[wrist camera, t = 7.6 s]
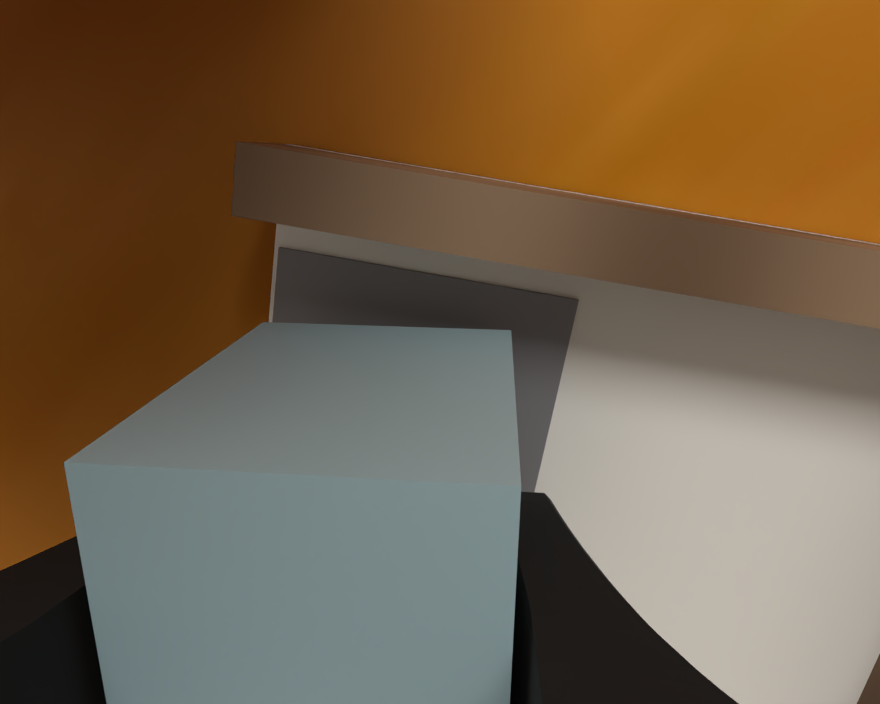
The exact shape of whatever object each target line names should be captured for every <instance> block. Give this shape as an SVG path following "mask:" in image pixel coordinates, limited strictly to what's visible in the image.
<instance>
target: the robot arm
mask: <svg viewBox="0 0 880 704" xmlns="http://www.w3.org/2000/svg"><path fill="white" fill-rule="evenodd" d="M0 704H107V703H106V697H105V692H104V686H103V680H102V675H101V669H100V664H99V658H98V652H97V647H96V641H95V636H94V630H93V624H92V619H91V613H90V607H89V602H88V596H87V591H86V585H85V579H84V574H83V568H82V562H81V557H80V551H79V546H78V540H77V536H76V537H73V538H71V539H69V540H67V541H65V542H63V543H60V544H58V545H56V546H54V547H52V548H49V549H47V550H45V551H43V552H41V553H39V554H36V555H34V556H32V557H30V558H28V559H26V560H23V561H21V562H19V563H17V564H15V565H13V566H10V567H8V568H6V569H3V570H1V571H0ZM510 704H739V703H737V702H736V701H735V700H733V699H732V698H731V697H730V696H728V695H727V694H726V693H724V692H723V691H722V690H721V689H719V688H718V687H717V686H716V685H715V684H713V683H712V682H711V681H710V680H709V679H708V678H706V677H705V676H704V675H703V674H702V673H700V672H699V671H698V670H697V669H696V668H695V667H693V666H692V665H691V664H690V663H689V662H688V661H687V660H686V659H685V658H684V657H683V656H681V655H680V654H679V653H678V652H677V651H676V650H675V649H674V648H673V647H672V646H671V645H669V644H668V643H667V642H666V641H665V640H664V639H663V638H662V637H661V636H660V635H659V634H657V633H656V632H655V631H654V630H653V629H652V628H651V627H650V626H649V625H648V623H647V622H646V621H645V620H644V619H643V618H642V617H641V616H640V615H639V614H638V613H637V612H636V611H635V609H634V608H633V607H632V606H631V605H630V604H629V603H628V602H627V601H626V600H625V598H624V597H623V596H622V595H621V594H620V593H619V592H618V590H617V589H616V588H615V587H614V586H613V585H612V583H611V582H610V581H609V580H608V579H607V577H606V576H605V575H604V574H603V572H602V571H601V570H600V569H599V567H598V566H597V565H596V564H595V562H594V561H593V560H592V558H591V557H590V556H589V555H588V553H587V552H586V551H585V549H584V548H583V547H582V545H581V544H580V543H579V541H578V540H577V539H576V537H575V536H574V534H573V533H572V531H571V530H570V529H569V527H568V526H567V524H566V523H565V521H564V520H563V518H562V517H561V515H560V514H559V512H558V510H557V509H556V507H555V506H554V504H553V502H552V501H551V500H550V498H549V497H548V496H547V495H546V494H545V493H537V492H521V502H520V521H519V540H518V559H517V578H516V597H515V616H514V635H513V654H512V673H511V692H510Z"/></svg>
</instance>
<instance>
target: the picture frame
mask: <svg viewBox="0 0 880 704" xmlns="http://www.w3.org/2000/svg"><path fill="white" fill-rule="evenodd" d="M231 216H235V217H241V218H247V219H253V220H258V221H264V222H270V223H276V236H275V248H274V261H273V273H272V285H271V298H270V310H269V322H276V323H307V324H338V325H368V326H399V327H429V328H460V329H490V330H511V335H512V351H513V366H514V381H515V397H516V412H517V427H518V443H519V458H520V473H521V492H537V493H545V494H546V495H547V496H548V497H549V498H550V500H551V501H552V502H553V504H554V506H555V507H556V509H557V510H558V512H559V514H560V515H561V517H562V518H563V520H564V521H565V523H566V524H567V526H568V527H569V529H570V530H571V531H572V533H573V534H574V536H575V537H576V539H577V540H578V541H579V543H580V544H581V545H582V547H583V548H584V549H585V551H586V552H587V553H588V555H589V556H590V557H591V558H592V560H593V561H594V562H595V564H596V565H597V566H598V567H599V569H600V570H601V571H602V572H603V574H604V575H605V576H606V577H607V579H608V580H609V581H610V582H611V583H612V585H613V586H614V587H615V588H616V589H617V590H618V592H619V593H620V594H621V595H622V596H623V597H624V598H625V600H626V601H627V602H628V603H629V604H630V605H631V606H632V607H633V608H634V609H635V611H636V612H637V613H638V614H639V615H640V616H641V617H642V618H643V619H644V620H645V621H646V622H647V623H648V625H649V626H650V627H651V628H652V629H653V630H654V631H655V632H656V633H657V634H659V635H660V636H661V637H662V638H663V639H664V640H665V641H666V642H667V643H668V644H669V645H671V646H672V647H673V648H674V649H675V650H676V651H677V652H678V653H679V654H680V655H681V656H683V657H684V658H685V659H686V660H687V661H688V662H689V663H690V664H691V665H692V666H693V667H695V668H696V669H697V670H698V671H699V672H700V673H702V674H703V675H704V676H705V677H706V678H708V679H709V680H710V681H711V682H712V683H713V684H715V685H716V686H717V687H718V688H719V689H721V690H722V691H723V692H724V693H726V694H727V695H728V696H730V697H731V698H732V699H733V700H735V701H736V702H737V703H739V704H880V244H876V243H870V242H864V241H859V240H853V239H847V238H841V237H835V236H829V235H823V234H817V233H811V232H806V231H800V230H794V229H788V228H782V227H776V226H770V225H764V224H758V223H753V222H747V221H741V220H735V219H729V218H723V217H717V216H711V215H705V214H700V213H694V212H688V211H682V210H676V209H670V208H664V207H658V206H652V205H647V204H641V203H635V202H629V201H623V200H617V199H611V198H605V197H599V196H593V195H588V194H582V193H576V192H570V191H564V190H558V189H552V188H546V187H540V186H535V185H529V184H523V183H517V182H511V181H505V180H499V179H493V178H487V177H482V176H476V175H470V174H464V173H458V172H452V171H446V170H440V169H434V168H429V167H423V166H417V165H411V164H405V163H399V162H393V161H387V160H381V159H375V158H370V157H364V156H358V155H352V154H346V153H340V152H334V151H328V150H322V149H317V148H311V147H305V146H299V145H293V144H274V143H253V142H236V147H235V164H234V181H233V197H232V214H231Z"/></svg>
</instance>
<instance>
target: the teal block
mask: <svg viewBox="0 0 880 704" xmlns="http://www.w3.org/2000/svg"><path fill="white" fill-rule="evenodd" d="M64 467H65V473H66V478H67V484H68V489H69V495H70V501H71V506H72V512H73V518H74V523H75V529H76V534H77V540H78V546H79V551H80V557H81V562H82V568H83V574H84V579H85V585H86V591H87V596H88V602H89V607H90V613H91V619H92V624H93V630H94V636H95V641H96V647H97V652H98V658H99V664H100V669H101V675H102V680H103V686H104V692H105V697H106V703H107V704H510V692H511V673H512V654H513V635H514V616H515V597H516V578H517V559H518V540H519V521H520V502H521V473H520V458H519V443H518V427H517V412H516V397H515V381H514V366H513V351H512V335H511V330H490V329H460V328H429V327H399V326H368V325H338V324H307V323H276V322H262V323H261V324H259V325H258V326H257V327H255V328H254V329H252V330H251V331H250V332H248V333H247V334H245V335H244V336H242V337H241V338H240V339H238V340H237V341H235V342H234V343H232V344H231V345H230V346H228V347H227V348H225V349H224V350H223V351H221V352H220V353H218V354H217V355H215V356H214V357H213V358H211V359H210V360H208V361H207V362H206V363H204V364H203V365H201V366H200V367H198V368H197V369H196V370H194V371H193V372H191V373H190V374H188V375H187V376H186V377H184V378H183V379H181V380H180V381H179V382H177V383H176V384H174V385H173V386H171V387H170V388H169V389H167V390H166V391H164V392H163V393H162V394H160V395H159V396H157V397H156V398H154V399H153V400H152V401H150V402H149V403H147V404H146V405H144V406H143V407H142V408H140V409H139V410H137V411H136V412H135V413H133V414H132V415H130V416H129V417H127V418H126V419H125V420H123V421H122V422H120V423H119V424H118V425H116V426H115V427H113V428H112V429H110V430H109V431H108V432H106V433H105V434H103V435H102V436H101V437H99V438H98V439H96V440H95V441H93V442H92V443H91V444H89V445H88V446H86V447H85V448H83V449H82V450H81V451H79V452H78V453H76V454H75V455H74V456H72V457H71V458H69V459H68V460H66V461H65V462H64Z"/></svg>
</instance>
